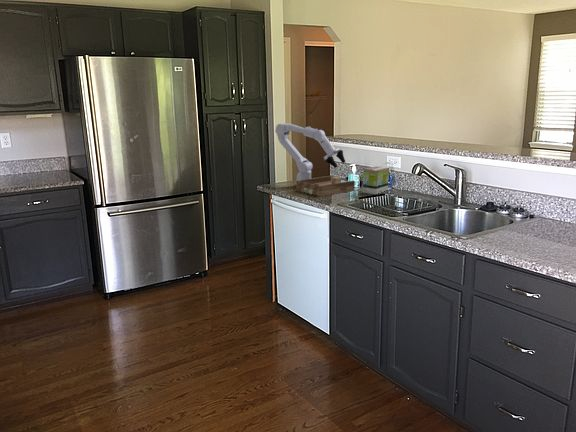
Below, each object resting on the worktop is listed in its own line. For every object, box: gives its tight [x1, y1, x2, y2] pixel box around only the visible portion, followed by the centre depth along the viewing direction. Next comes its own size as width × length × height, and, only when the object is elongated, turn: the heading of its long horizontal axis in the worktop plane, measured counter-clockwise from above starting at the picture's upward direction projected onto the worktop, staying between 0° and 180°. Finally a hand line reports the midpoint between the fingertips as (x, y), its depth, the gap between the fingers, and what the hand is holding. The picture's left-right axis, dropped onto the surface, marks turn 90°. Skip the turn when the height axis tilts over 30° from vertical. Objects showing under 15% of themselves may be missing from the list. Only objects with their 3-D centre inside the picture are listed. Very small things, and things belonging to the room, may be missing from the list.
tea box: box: [362, 165, 390, 195], centre depth 309 cm, size 15×10×15 cm, turn 143°
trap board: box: [296, 175, 356, 197], centre depth 315 cm, size 22×28×6 cm
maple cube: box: [331, 176, 342, 184], centre depth 320 cm, size 4×4×4 cm
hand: (340, 164), depth 315 cm, fingers open, 7 cm apart
